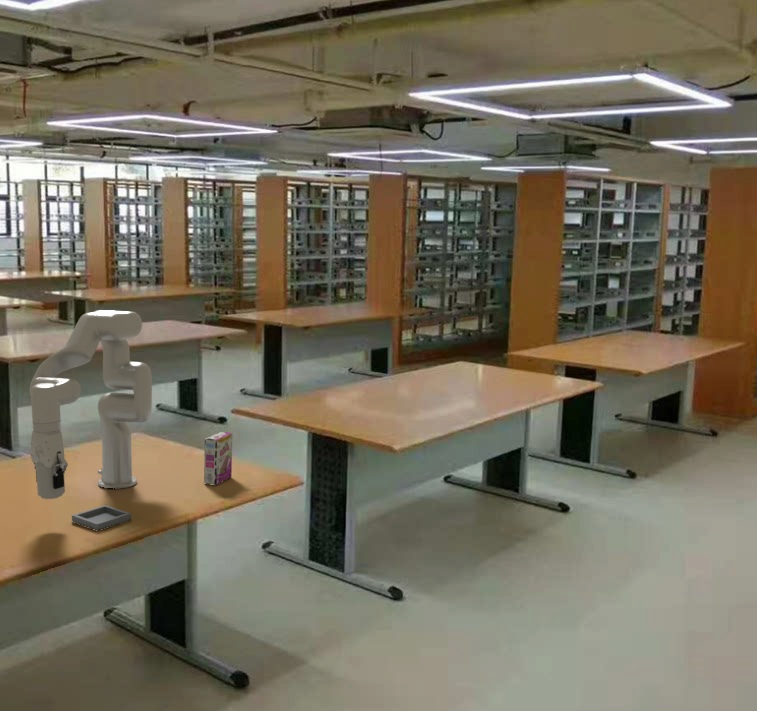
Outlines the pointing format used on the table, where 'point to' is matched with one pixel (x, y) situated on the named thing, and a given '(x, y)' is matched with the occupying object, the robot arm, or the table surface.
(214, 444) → the candy bar box
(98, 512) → the tray
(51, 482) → the can
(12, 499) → the table surface
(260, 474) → the table surface
